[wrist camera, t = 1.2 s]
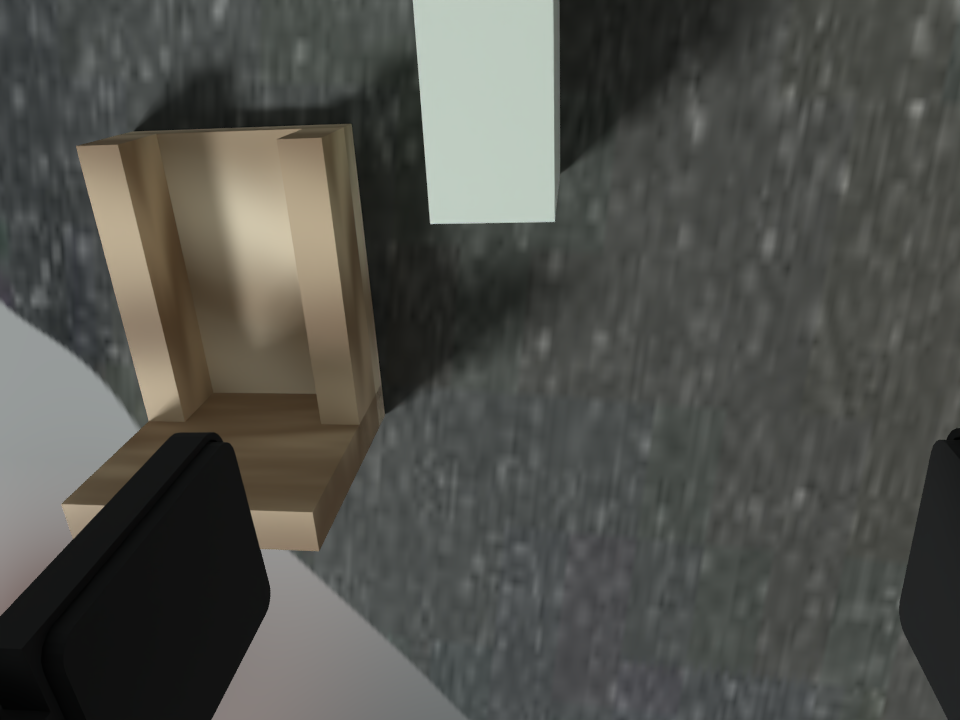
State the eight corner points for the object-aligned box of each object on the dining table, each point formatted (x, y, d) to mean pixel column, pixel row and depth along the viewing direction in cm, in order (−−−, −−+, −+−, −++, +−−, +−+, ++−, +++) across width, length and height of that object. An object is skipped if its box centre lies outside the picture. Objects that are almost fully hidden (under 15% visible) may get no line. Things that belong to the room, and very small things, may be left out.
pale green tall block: (450, -75, 24) (404, -108, 18) (559, -83, 24) (552, -120, 17) (464, 176, 27) (430, 223, 21) (560, 173, 27) (554, 221, 21)
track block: (132, 131, 28) (-50, 178, 20) (351, 123, 27) (253, 169, 19) (198, 412, 33) (74, 541, 25) (385, 415, 32) (319, 551, 24)
